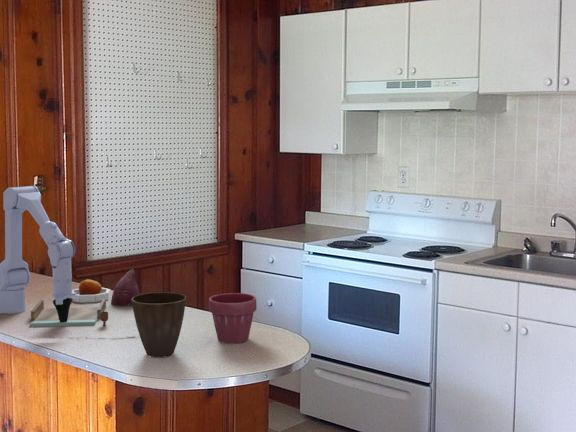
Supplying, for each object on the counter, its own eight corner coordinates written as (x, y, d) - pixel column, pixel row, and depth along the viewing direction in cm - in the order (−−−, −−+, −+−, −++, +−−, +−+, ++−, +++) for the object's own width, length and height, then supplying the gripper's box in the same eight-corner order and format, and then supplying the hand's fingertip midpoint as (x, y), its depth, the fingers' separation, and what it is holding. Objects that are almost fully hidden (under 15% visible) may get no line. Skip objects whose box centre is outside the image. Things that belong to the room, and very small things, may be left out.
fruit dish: (67, 302, 280) (67, 295, 279) (73, 294, 293) (73, 287, 293) (107, 301, 281) (107, 295, 281) (111, 293, 295) (111, 286, 295)
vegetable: (142, 312, 280) (153, 271, 280) (133, 315, 270) (145, 273, 269) (114, 304, 281) (125, 263, 281) (105, 307, 271) (116, 265, 270)
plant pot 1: (122, 353, 220) (120, 297, 218) (165, 343, 230) (165, 289, 228) (153, 365, 209) (152, 306, 207) (197, 353, 220) (197, 297, 218)
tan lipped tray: (31, 324, 250) (30, 311, 250) (40, 312, 266) (40, 300, 266) (100, 322, 253) (100, 309, 252) (106, 310, 269) (105, 298, 268)
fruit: (71, 296, 283) (77, 275, 286) (81, 303, 290) (87, 283, 293) (91, 298, 280) (96, 277, 284) (101, 305, 287) (106, 284, 291)
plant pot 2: (203, 335, 238) (203, 294, 237) (248, 331, 243) (248, 290, 242) (216, 348, 225) (216, 304, 224) (262, 343, 230) (263, 301, 228)
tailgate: (34, 324, 250) (29, 327, 243) (34, 320, 250) (29, 323, 243) (97, 323, 252) (94, 325, 245) (97, 319, 252) (94, 321, 245)
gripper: (72, 283, 238) (73, 327, 240) (78, 274, 253) (79, 315, 254) (48, 284, 238) (49, 328, 239) (56, 274, 252) (57, 316, 254)
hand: (63, 321), depth 247 cm, fingers closed, pressing on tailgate
